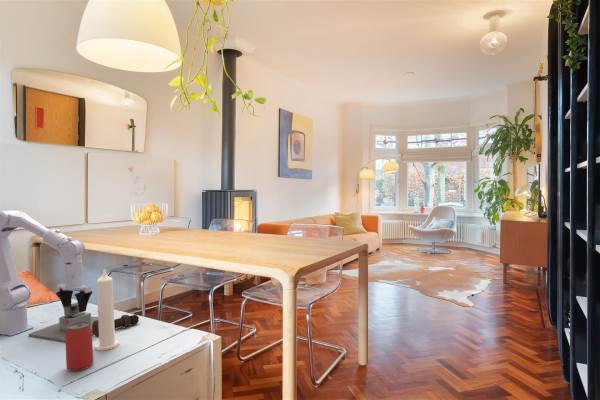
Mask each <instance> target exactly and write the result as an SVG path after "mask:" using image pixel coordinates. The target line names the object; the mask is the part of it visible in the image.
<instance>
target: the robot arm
mask: <svg viewBox="0 0 600 400" xmlns="http://www.w3.org/2000/svg"><path fill="white" fill-rule="evenodd" d="M18 228H22V229H25V230H26V231H28V232H30V233H33V234H34V235H37V236H39V237H40V238H42V242H43V243H44V244H45V245H47V246H49V247H51V248H52V249H54V250H56V251H57V252H58V253H59V255H60V256H61V257H62V261H63V278H64V283H59V284H57V285H56V287H57V292H56V293H55V295H56V296H57V297H58V298H59V301H60V302H61V305H62V308H63V309H64V307H65V306H68V305H71V304H72V299H73V298H72V297H73V293H74V292H76V293H74V297H75V299H76V301H77V302H78V307H79V312H86V311H87V307H88V304H89V300H90V298H91V296H92V294H93V291H92V286H90V285H87V284H84V280H83V279H84V278H83V277H84V275H83V256H82V255H83V253H84V251H85V243H84V242H83V241H81V239H73V237H71V236H67V235H66V234H64V233H63V232H62V230H60V229H55V228H52V229H49V228H48V227H46V226H45V225H43V224H41V223H39V222H38V221H36V220H35V219H33V218H32V217H30V216H29V214H28V213H27V212H24V211H22V210H20V209H17V208H16V209H15V208H14V209H10V210H0V335H5V336H11V337H13V336H14V335H17V334H20V333H22V332H26V331H28V330H31V329H33V328H34V327H35V326H33V325H28V306H27V304H28V303H29V302H28V300H30V299H31V295H32V290H31V289H30V288H29V287H28V285H27V283H26V281H25V280H23V279H22V278H20V276H19V272H18V270H17V265H16V262H15V258H14V253H13V251H12V250H13V249H12V247H11V244H10V240H9V236H10V235H11V234H12V232H14V231H15V230H16V229H18ZM77 292H78V293H77Z"/></svg>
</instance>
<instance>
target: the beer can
mask: <svg viewBox="0 0 600 400" xmlns="http://www.w3.org/2000/svg"><path fill="white" fill-rule="evenodd" d="M64 343H65V361H66V362H65V363H66V370H68V371H69V372H78V371H83V370H86V369H87V368H88V369H89V367H91V366H92V365H93V364H94V352H93V351H94V350H93V347H94V346H93V333H92V329H91V327H90V323H89V322H78V323H74V324H71V325H69V326H68V327H67V331H66V335H65V342H64Z"/></svg>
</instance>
